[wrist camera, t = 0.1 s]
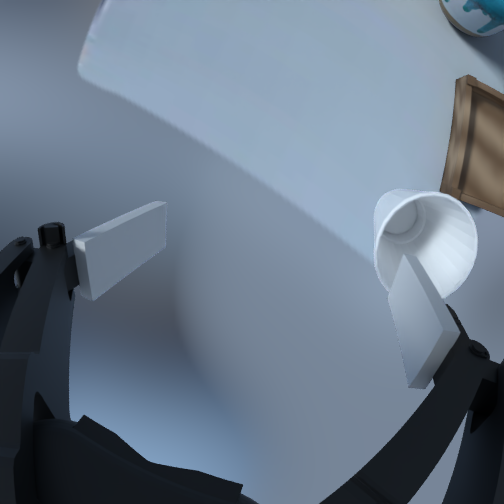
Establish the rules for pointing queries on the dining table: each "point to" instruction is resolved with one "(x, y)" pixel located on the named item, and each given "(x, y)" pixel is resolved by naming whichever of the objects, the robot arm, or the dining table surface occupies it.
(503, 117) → the crate
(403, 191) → the cup
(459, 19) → the vase
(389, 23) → the dining table surface
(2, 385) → the robot arm
